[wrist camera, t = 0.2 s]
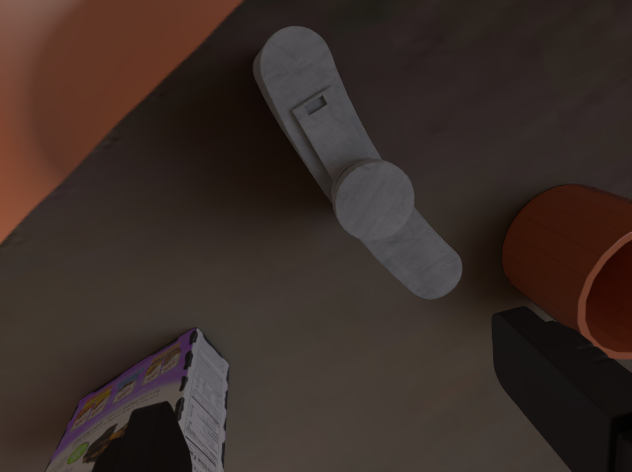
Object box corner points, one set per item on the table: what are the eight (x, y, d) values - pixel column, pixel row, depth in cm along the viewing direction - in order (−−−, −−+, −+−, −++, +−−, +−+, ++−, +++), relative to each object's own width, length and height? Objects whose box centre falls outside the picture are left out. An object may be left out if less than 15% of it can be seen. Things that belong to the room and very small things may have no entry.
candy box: (119, 433, 45) (55, 618, 30) (78, 397, 43) (-13, 576, 27) (231, 364, 44) (225, 518, 29) (196, 323, 42) (168, 466, 27)
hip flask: (380, 195, 40) (496, 298, 22) (344, 220, 41) (428, 344, 22) (276, 39, 34) (314, 0, 16) (235, 71, 35) (225, 68, 16)
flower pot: (611, 282, 48) (710, 338, 38) (503, 310, 47) (575, 375, 37) (618, 171, 43) (734, 201, 33) (499, 200, 42) (580, 240, 32)
